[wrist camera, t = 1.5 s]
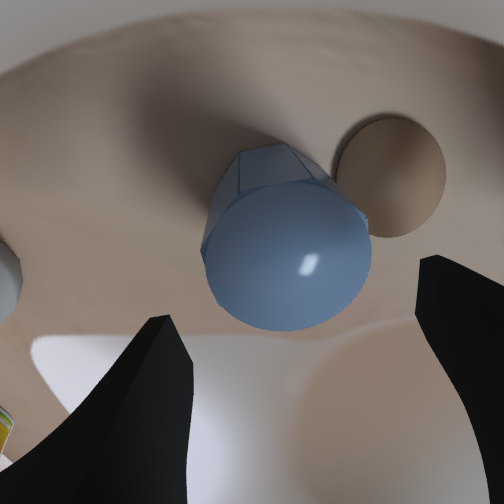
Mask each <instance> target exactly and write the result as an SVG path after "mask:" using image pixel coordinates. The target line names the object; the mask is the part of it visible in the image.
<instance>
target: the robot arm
mask: <svg viewBox="0 0 504 504" xmlns="http://www.w3.org/2000/svg"><path fill="white" fill-rule="evenodd" d="M415 315H416V317H417V320H418V322H419V324H420V326H421V329H422V331H423V333H424V335H425V337H426V339H427V341H428V343H429V345H430V346H431V348H432V350H433V352H434V353H435V355H436V357H437V358H438V360H439V362H440V363H441V365H442V367H443V368H444V370H445V372H446V373H447V375H448V377H449V378H450V380H451V382H452V384H453V385H454V387H455V389H456V391H457V392H458V394H459V396H460V398H461V400H462V402H463V404H464V406H465V409H466V411H467V414H468V416H469V419H470V422H471V424H472V427H473V430H474V433H475V436H476V439H477V442H478V446H479V449H480V452H481V456H482V460H483V464H484V469H485V473H486V478H487V484H488V490H489V499H490V504H504V286H503V285H501V284H499V283H497V282H495V281H493V280H491V279H489V278H487V277H485V276H483V275H481V274H479V273H477V272H475V271H473V270H471V269H469V268H467V267H465V266H463V265H461V264H458V263H456V262H454V261H452V260H450V259H447V258H445V257H443V256H440V255H434V256H430V257H426V258H423V259H420V267H419V280H418V290H417V300H416V309H415ZM193 380H194V377H193V362H192V360H191V358H190V356H189V354H188V352H187V350H186V348H185V346H184V344H183V342H182V340H181V338H180V336H179V334H178V332H177V330H176V327H175V325H174V323H173V321H172V319H171V317H170V315H163V316H158V317H152V318H149V320H148V321H147V322H146V323H145V324H144V325H143V327H142V328H141V329H140V330H139V332H138V333H137V334H136V335H135V337H134V338H133V340H132V341H131V342H130V343H129V345H128V346H127V347H126V349H125V350H124V351H123V352H122V354H121V355H120V356H119V358H118V359H117V360H116V362H115V363H114V364H113V366H112V367H111V368H110V369H109V371H108V372H107V373H106V374H105V375H104V377H103V378H102V379H101V380H100V381H99V383H98V384H97V385H96V386H95V388H94V389H93V390H92V391H91V392H90V394H89V395H88V396H87V397H86V398H85V399H84V401H83V402H82V403H81V404H80V405H79V406H78V407H77V408H76V410H75V411H73V412H72V413H71V414H70V416H69V417H68V418H67V419H66V420H65V421H64V422H63V423H62V424H61V425H60V426H58V427H57V428H56V429H55V430H54V431H53V432H52V433H51V434H50V435H48V436H47V437H46V438H45V439H44V440H43V441H41V442H40V443H39V444H38V445H37V446H36V447H35V448H33V449H32V450H31V451H30V452H28V453H27V454H26V455H24V456H23V457H22V458H20V459H19V460H18V461H16V462H15V463H13V464H12V465H10V466H9V467H8V468H6V469H4V470H3V471H1V472H0V504H187V486H186V485H187V484H186V464H187V451H188V442H189V441H188V440H189V432H190V423H191V414H192V405H193V395H194V381H193Z"/></svg>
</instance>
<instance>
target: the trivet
mask: <svg viewBox="0 0 504 504" xmlns="http://www.w3.org/2000/svg"><path fill="white" fill-rule="evenodd" d="M445 181H446V166H445V161H444V157H443V154H442V151H441V149H440V146H439V145H438V143H437V141H436V140H435V139H434V137H433V136H432V135H431V134H430V133H429V132H428V131H427V130H426V129H425V128H423V127H422V126H420V125H418V124H416V123H414V122H411V121H408V120H405V119H399V118H386V119H381V120H377V121H374V122H372V123H370V124H368V125H366V126H365V127H363V128H362V129H360V130H359V131H358V132H357V133H356V134H355V135H354V136H353V137H352V138H351V139H350V141H349V142H348V143H347V145H346V146H345V148H344V150H343V152H342V154H341V156H340V159H339V162H338V166H337V171H336V183H337V184H338V185H339V186H340V188H341V189H342V190H343V191H344V192H345V193H346V194H347V195H348V196H349V197H350V198H351V199H352V200H353V202H354V203H355V204H356V205H357V206H358V207H359V208H360V209H361V210H362V212H363V213H364V214H365V215H366V217H367V218H368V233H369V234H370V235H373V236H377V237H384V238H388V237H398V236H401V235H405V234H407V233H409V232H411V231H413V230H415V229H417V228H418V227H419V226H421V225H422V224H423V223H424V222H425V221H426V220H427V219H428V218H429V217H430V216H431V215H432V214H433V212H434V211H435V209H436V208H437V206H438V204H439V202H440V200H441V197H442V194H443V191H444V187H445Z"/></svg>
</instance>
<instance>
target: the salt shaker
mask: <svg viewBox="0 0 504 504" xmlns="http://www.w3.org/2000/svg"><path fill="white" fill-rule="evenodd" d="M22 284H23V277H22V272H21V266H20V260H19V259H18V258H17V257H16V256H15V255H14V254H13V253H12V251H11V250H10V249H9V248H8V247H7V246H6V245H5V244H4V243H0V323H1V322H3V321H4V320H5V319H6V318H7V317H9V316H10V315H11V313H12V312H13V310H14V309H15V307H16V305H17V303H18V301H19V297H20V292H21V288H22Z"/></svg>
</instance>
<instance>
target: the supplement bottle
mask: <svg viewBox="0 0 504 504" xmlns="http://www.w3.org/2000/svg"><path fill="white" fill-rule="evenodd" d="M13 425H14V421H13V419H12V418H11V416H10V415H9V414H8V413H7V412H6V411H5V410H4V409H2V408H1V407H0V457H1V454H2V452H3V449H4V446H5V444H6V442H7V439H8V437H9V434H10V432H11V430H12V427H13Z"/></svg>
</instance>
